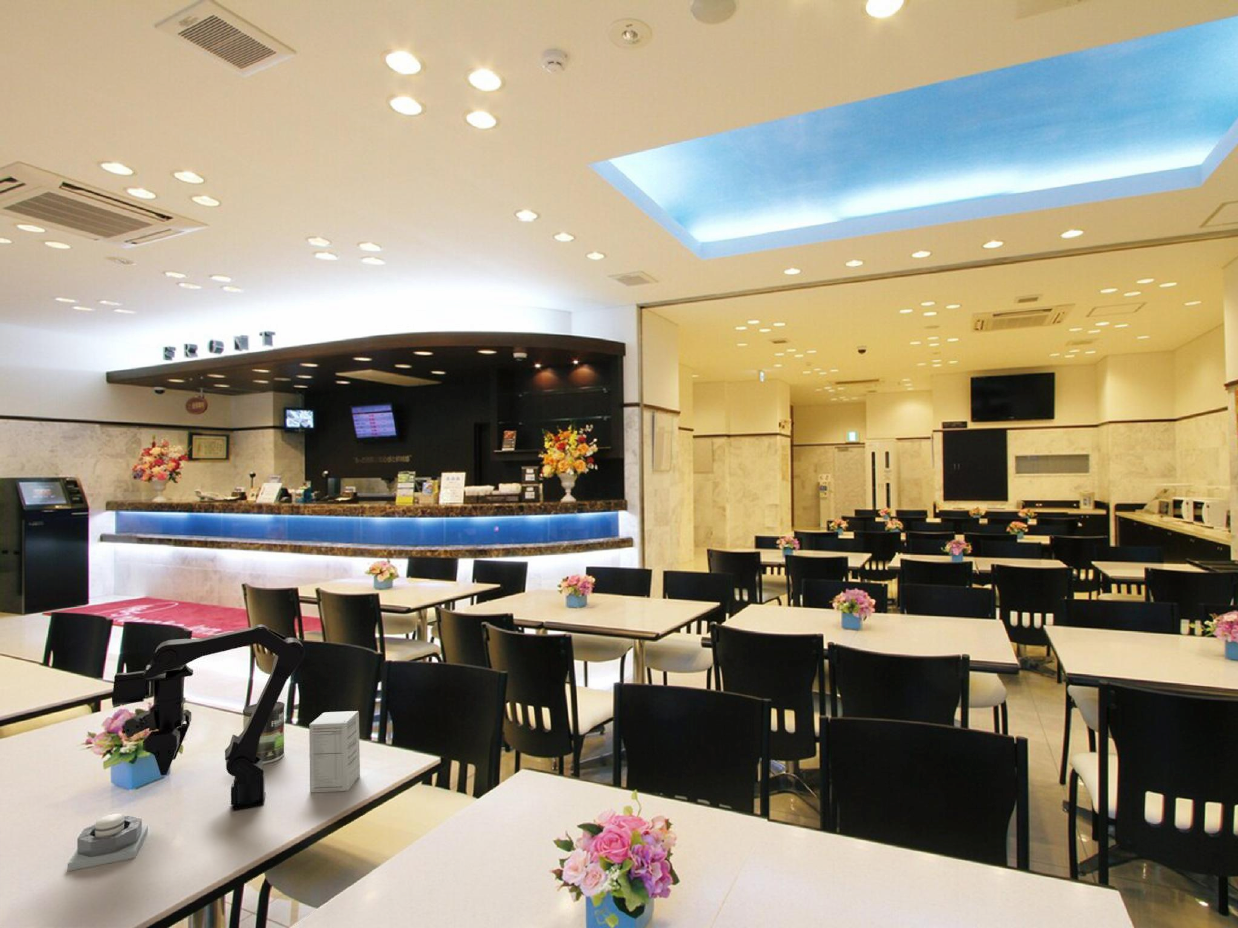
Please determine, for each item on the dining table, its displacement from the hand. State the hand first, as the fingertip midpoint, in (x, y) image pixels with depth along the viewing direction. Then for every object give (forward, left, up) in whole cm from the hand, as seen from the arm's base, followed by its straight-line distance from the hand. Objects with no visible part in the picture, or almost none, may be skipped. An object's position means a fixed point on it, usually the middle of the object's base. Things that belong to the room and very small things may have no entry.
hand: (168, 766), depth 153 cm
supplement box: (-35, -4, -12) cm, 37 cm away
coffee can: (-17, -31, -12) cm, 37 cm away
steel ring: (+8, +10, -10) cm, 17 cm away
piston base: (+8, +10, -12) cm, 18 cm away
